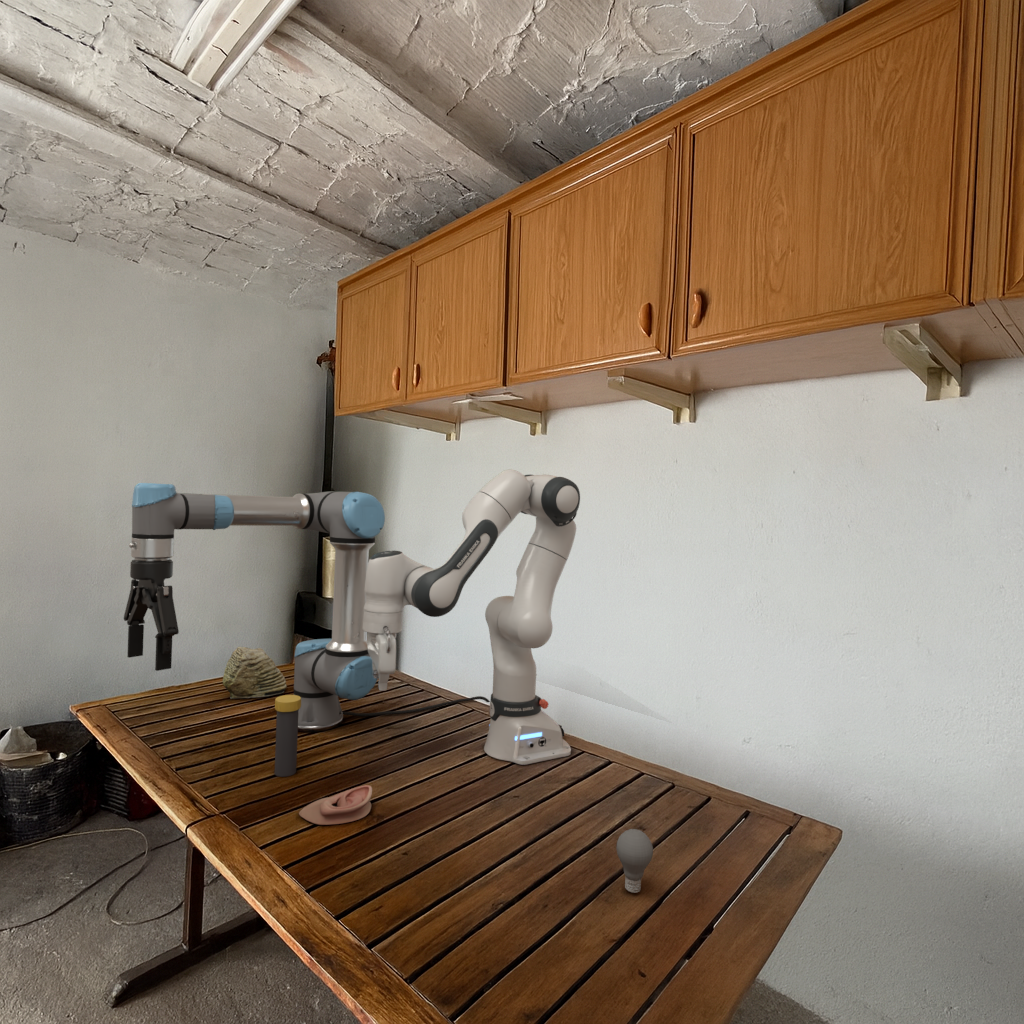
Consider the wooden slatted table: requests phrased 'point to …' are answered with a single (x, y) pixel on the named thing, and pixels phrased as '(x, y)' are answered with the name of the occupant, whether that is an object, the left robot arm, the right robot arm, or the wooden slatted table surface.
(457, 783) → the wooden slatted table surface
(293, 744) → the jar
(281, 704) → the lid
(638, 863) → the light bulb
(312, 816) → the anatomical model
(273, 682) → the fossil
